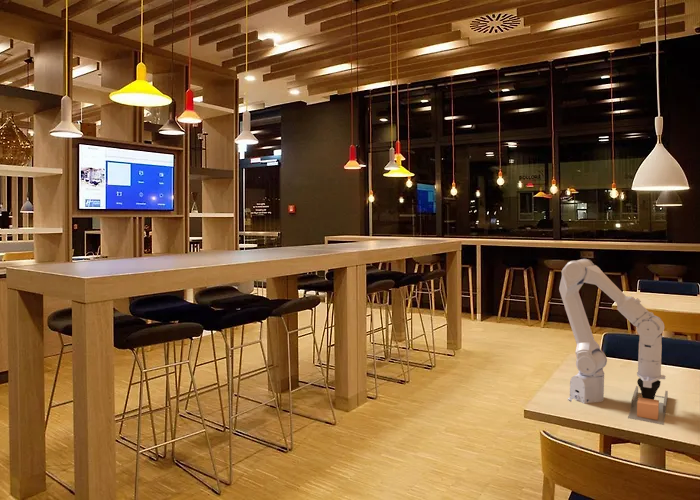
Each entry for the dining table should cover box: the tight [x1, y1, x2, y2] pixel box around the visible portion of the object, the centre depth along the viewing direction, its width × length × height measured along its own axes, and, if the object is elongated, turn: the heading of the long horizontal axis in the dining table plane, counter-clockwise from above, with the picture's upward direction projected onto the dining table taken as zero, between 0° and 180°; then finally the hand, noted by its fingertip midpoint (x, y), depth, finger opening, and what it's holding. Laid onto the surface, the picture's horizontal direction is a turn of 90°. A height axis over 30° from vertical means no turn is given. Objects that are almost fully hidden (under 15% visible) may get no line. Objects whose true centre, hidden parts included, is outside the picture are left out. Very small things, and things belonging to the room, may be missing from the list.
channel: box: [627, 385, 669, 425], centre depth 153 cm, size 25×9×3 cm, turn 147°
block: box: [637, 396, 660, 420], centre depth 147 cm, size 5×5×4 cm
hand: (648, 405), depth 150 cm, fingers closed
